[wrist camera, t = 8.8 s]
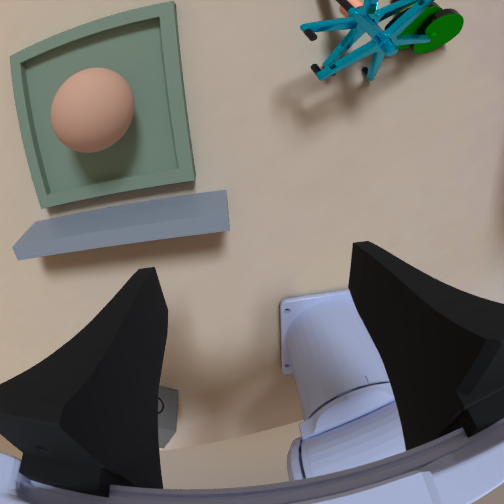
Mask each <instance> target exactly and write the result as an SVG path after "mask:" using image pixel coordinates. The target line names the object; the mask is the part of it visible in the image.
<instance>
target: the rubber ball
mask: <svg viewBox="0 0 504 504" xmlns="http://www.w3.org/2000/svg"><path fill="white" fill-rule="evenodd" d="M134 105H135V104H134V96H133V93H132V90H131V88H130V86H129V84H128V83H127V81H126V80H125V79H124V78H123V77H122V76H121V75H119V74H118V73H116V72H114V71H112V70H109V69H105V68H89V69H85V70H82V71H80V72H78V73H76V74H74V75H72V76H71V77H70V78H68V79H67V80H66V81H65V82H64V83H63V84H62V85H61V87H60V88H59V89H58V91H57V93H56V95H55V97H54V99H53V103H52V106H51V124H52V127H53V130H54V132H55V134H56V136H57V138H58V139H59V140H60V141H61V142H62V143H63V144H64V145H65V146H67V147H68V148H70V149H72V150H75V151H78V152H83V153H92V152H98V151H101V150H104V149H106V148H108V147H110V146H112V145H113V144H115V143H116V142H117V141H118V140H119V139H120V138H121V137H122V136H123V135H124V134H125V132H126V131H127V129H128V128H129V126H130V124H131V121H132V118H133V114H134Z"/></svg>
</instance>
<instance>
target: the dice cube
mask: <svg viewBox="0 0 504 504" xmlns="http://www.w3.org/2000/svg"><path fill="white" fill-rule="evenodd" d="M177 400H178V390H175V389H171V388H167V387H163V386H159V392H158V440H159V447H160V448H164V447H165V446H166V445H167V443H168V442H169V441H170V439H171V438H172V436H173V435H174V434H175V432H176V423H177Z"/></svg>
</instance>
